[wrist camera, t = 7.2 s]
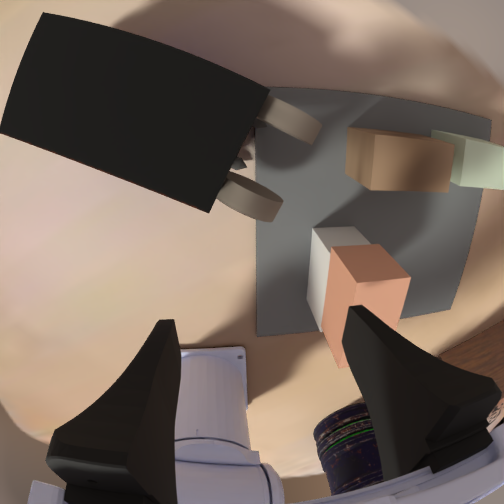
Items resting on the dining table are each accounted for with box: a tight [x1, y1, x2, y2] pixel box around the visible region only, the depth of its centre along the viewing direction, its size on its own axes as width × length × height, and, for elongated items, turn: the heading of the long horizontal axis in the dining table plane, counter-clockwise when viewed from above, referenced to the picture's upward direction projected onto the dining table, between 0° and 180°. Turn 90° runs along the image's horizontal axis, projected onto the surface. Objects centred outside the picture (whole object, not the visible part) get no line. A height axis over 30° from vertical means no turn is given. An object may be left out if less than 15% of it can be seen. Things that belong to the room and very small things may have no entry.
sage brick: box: [431, 130, 504, 190], centre depth 19 cm, size 6×3×4 cm, turn 91°
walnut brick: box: [345, 127, 455, 193], centre depth 18 cm, size 6×3×4 cm, turn 90°
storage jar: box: [313, 403, 384, 496], centre depth 29 cm, size 10×10×15 cm
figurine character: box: [0, 12, 322, 222], centre depth 15 cm, size 7×8×15 cm
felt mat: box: [255, 87, 492, 337], centre depth 23 cm, size 19×20×1 cm
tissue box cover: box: [438, 320, 504, 433], centre depth 33 cm, size 26×14×10 cm, turn 16°
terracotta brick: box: [321, 244, 411, 368], centre depth 18 cm, size 6×3×4 cm, turn 0°
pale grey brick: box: [307, 226, 371, 332], centre depth 22 cm, size 6×3×4 cm, turn 1°
